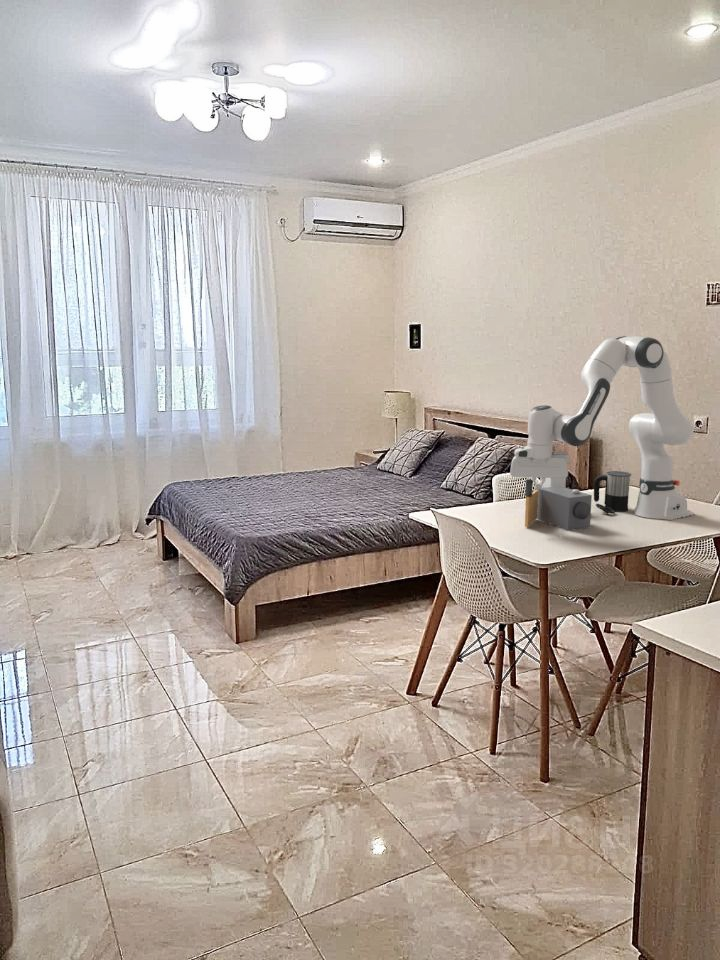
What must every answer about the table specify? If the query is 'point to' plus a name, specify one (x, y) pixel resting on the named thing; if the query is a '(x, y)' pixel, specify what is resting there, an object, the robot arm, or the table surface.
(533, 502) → the tan flat panel
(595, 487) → the milk frother
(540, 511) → the camera body
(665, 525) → the table surface
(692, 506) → the table surface
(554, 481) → the milk carton
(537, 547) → the table surface
